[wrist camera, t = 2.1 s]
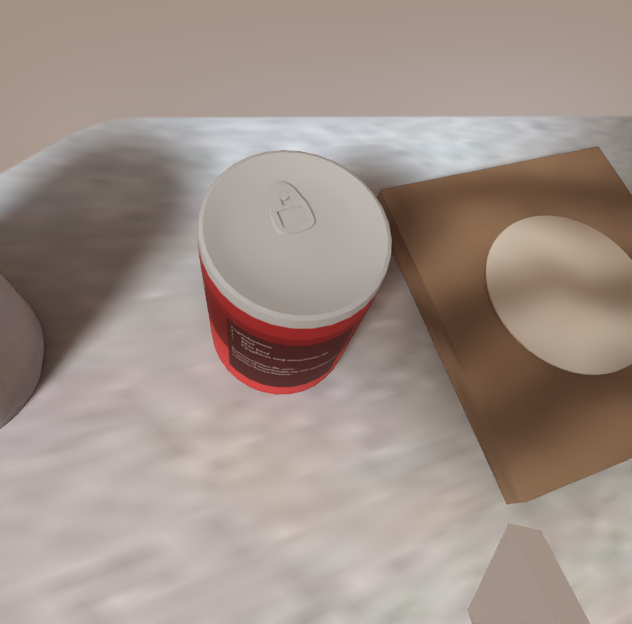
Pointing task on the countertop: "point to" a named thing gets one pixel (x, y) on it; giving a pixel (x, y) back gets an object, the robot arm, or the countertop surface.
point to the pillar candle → (17, 351)
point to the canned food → (289, 266)
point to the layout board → (528, 309)
